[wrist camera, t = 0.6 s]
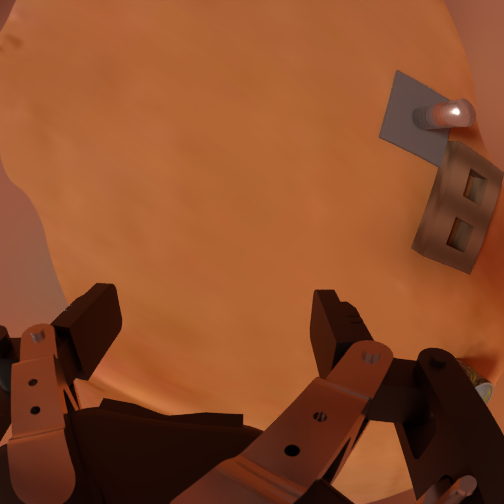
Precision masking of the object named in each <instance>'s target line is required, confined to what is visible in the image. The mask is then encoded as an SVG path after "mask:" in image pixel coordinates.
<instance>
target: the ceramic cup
mask: <svg viewBox="0 0 504 504" xmlns="http://www.w3.org/2000/svg"><path fill="white" fill-rule="evenodd" d="M456 360H457V359H456ZM457 361H458V363H459V364H460V365H461V367H462V368H463V370H464V371H465V373H466V374H467V376H468V377H469V379H470V380H471V382H472V383H473V385H474V387H475V388H476V390H477V391H478V393H479V394H480V396H481V398H482V399H483V401H484V402H485V404H487V403H488V401H489V400H490V398H491V395H492V393H493V385H492V384H491V383H490V382H489V381H488V380H487V379H486V378H484V377H483V376H481V375H480V374H478V373H477V372H476V371H474V369H473V368H472V367H471V366H468V365H466V364H465V363H464V362H462V361H460V360H457Z"/></svg>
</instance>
